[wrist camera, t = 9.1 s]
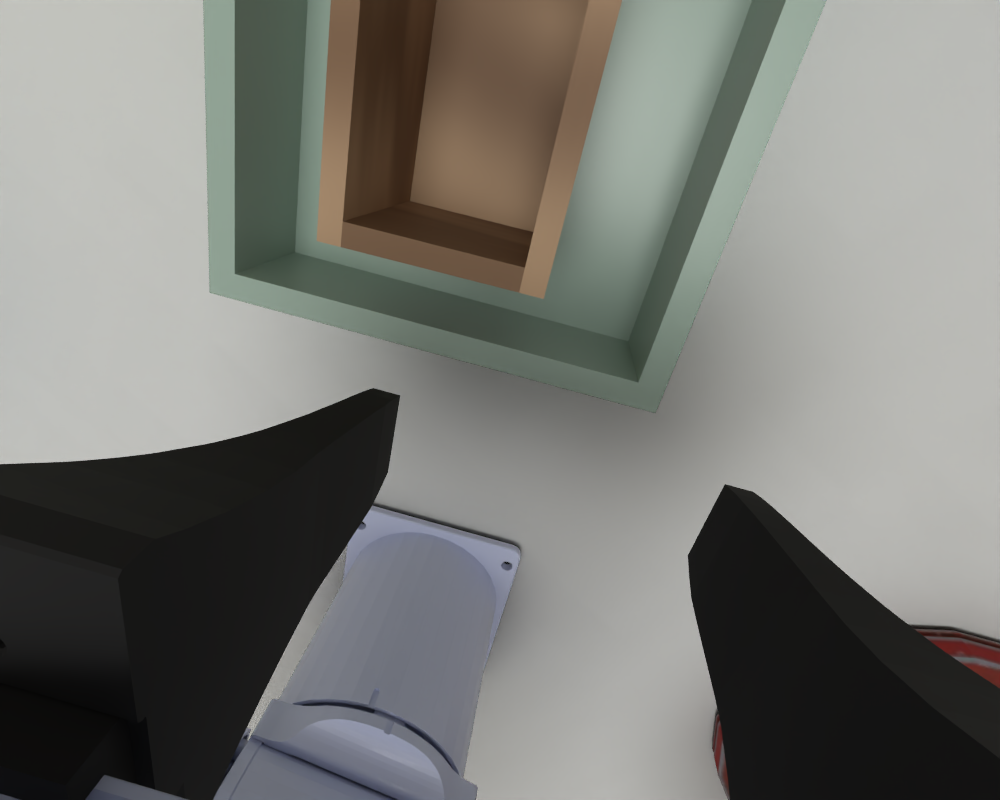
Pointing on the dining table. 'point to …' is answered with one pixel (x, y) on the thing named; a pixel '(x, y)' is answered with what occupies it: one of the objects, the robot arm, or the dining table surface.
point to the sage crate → (590, 214)
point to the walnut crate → (459, 130)
